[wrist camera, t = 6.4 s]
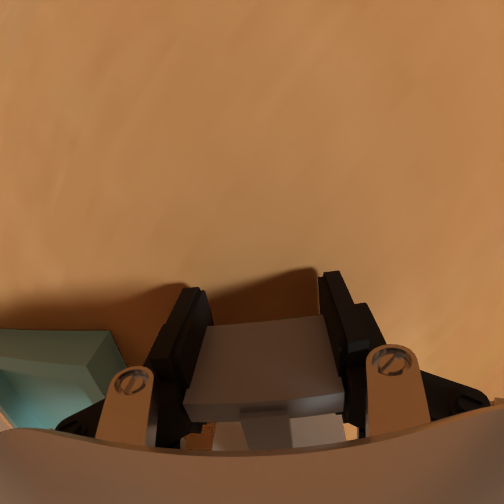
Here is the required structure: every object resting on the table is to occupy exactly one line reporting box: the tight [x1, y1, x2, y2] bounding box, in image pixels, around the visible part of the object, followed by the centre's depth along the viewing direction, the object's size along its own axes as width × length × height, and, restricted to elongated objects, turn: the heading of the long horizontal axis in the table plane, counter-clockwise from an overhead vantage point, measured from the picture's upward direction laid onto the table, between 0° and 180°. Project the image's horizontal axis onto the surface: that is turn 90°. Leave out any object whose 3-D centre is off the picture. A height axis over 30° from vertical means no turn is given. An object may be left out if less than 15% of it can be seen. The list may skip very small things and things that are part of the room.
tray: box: [0, 329, 127, 430], centre depth 15 cm, size 18×12×2 cm, turn 9°
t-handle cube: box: [183, 314, 346, 451], centre depth 10 cm, size 10×5×7 cm, turn 9°
